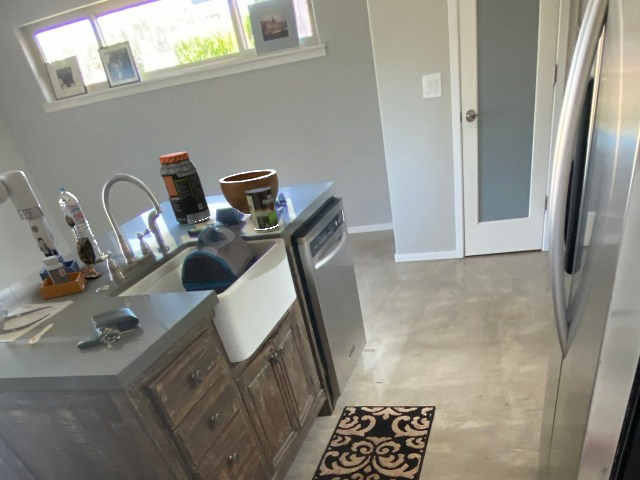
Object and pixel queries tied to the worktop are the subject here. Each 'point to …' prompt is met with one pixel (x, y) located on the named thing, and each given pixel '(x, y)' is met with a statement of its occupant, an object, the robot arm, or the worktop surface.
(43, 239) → the robot arm
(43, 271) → the blue bin
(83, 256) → the plant with pod
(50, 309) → the worktop surface
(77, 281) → the amber bin
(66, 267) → the blue block
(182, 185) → the supplement tub
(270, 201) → the coffee can
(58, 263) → the pill bottle
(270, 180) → the bowl
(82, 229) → the water bottle
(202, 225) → the worktop surface
